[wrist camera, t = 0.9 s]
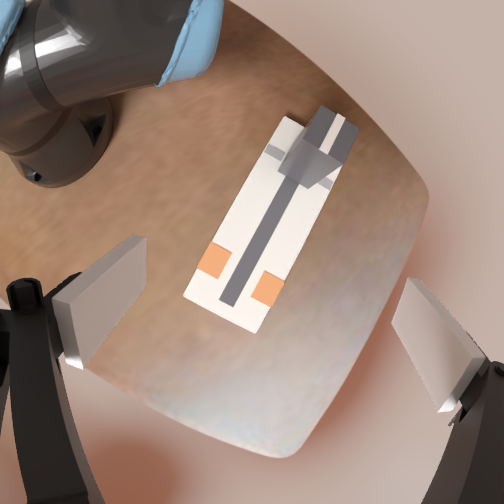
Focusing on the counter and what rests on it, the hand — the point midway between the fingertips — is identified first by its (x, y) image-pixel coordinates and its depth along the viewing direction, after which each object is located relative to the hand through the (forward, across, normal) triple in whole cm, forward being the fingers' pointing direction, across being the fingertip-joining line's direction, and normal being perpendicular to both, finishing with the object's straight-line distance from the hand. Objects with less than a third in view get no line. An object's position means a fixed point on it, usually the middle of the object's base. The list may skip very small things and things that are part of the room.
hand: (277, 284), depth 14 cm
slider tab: (+22, +2, +4) cm, 23 cm away
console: (+22, 0, -3) cm, 22 cm away
